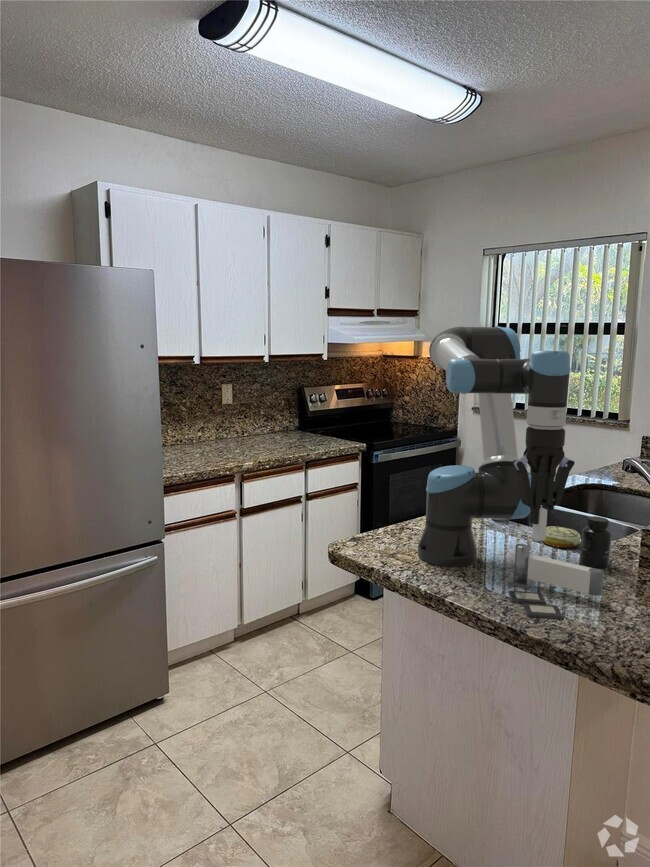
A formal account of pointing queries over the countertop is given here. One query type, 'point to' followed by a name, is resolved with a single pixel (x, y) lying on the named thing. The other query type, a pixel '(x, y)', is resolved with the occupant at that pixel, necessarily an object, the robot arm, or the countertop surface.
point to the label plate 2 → (542, 611)
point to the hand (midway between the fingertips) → (538, 538)
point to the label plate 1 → (527, 597)
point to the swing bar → (566, 575)
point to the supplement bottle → (596, 543)
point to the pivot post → (521, 568)
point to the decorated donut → (561, 536)
